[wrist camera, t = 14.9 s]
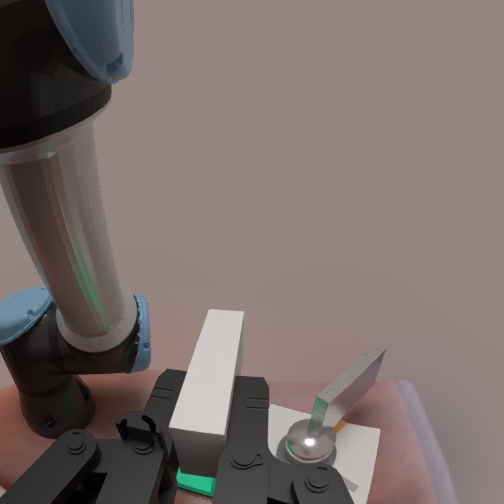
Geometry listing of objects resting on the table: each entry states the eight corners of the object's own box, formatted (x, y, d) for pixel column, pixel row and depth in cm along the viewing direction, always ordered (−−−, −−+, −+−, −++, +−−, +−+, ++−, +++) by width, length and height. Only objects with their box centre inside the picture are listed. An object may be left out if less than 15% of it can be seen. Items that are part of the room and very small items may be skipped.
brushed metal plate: (310, 476, 33) (327, 429, 30) (274, 449, 38) (282, 399, 34) (379, 405, 46) (399, 354, 42) (348, 388, 51) (363, 337, 47)
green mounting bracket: (198, 432, 44) (193, 391, 41) (243, 443, 43) (245, 403, 39) (171, 486, 33) (159, 452, 30) (222, 501, 32) (219, 470, 28)
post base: (231, 475, 36) (231, 466, 35) (271, 408, 51) (272, 397, 50) (362, 510, 29) (368, 502, 28) (378, 432, 43) (383, 422, 42)
